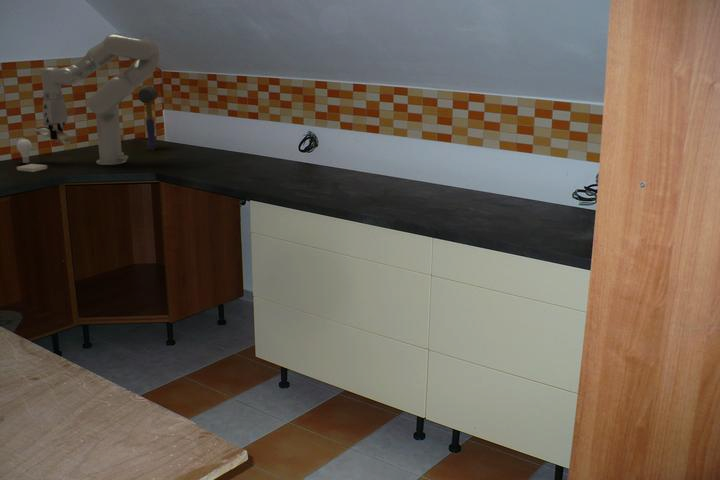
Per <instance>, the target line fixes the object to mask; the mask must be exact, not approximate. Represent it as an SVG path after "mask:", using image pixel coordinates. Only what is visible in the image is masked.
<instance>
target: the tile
mask: <svg viewBox="0 0 720 480" xmlns="http://www.w3.org/2000/svg"><path fill="white" fill-rule="evenodd" d="M47 169H48V165H47V164H38V163H37V164H36V163H27V164H25V165H21V166H20V165H19V166H16V170H17V171H19V172H20V171H21V172H31V173H34V172H38V171H43V170H47Z"/></svg>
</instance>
